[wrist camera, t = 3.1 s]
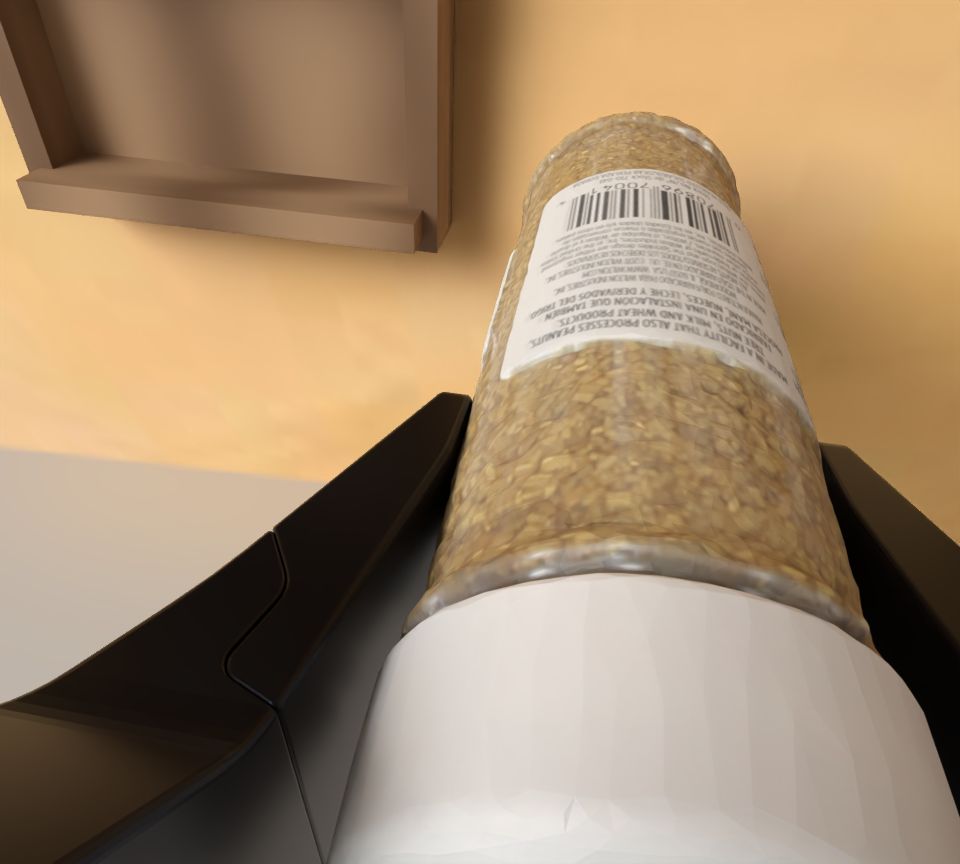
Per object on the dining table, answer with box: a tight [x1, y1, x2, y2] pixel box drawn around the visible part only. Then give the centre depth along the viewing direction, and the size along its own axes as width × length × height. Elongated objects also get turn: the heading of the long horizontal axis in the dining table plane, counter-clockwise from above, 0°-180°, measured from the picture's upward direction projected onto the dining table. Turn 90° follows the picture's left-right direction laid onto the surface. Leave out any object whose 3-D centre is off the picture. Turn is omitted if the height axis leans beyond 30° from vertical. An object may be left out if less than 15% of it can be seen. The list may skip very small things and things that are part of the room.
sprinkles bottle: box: [326, 112, 960, 864], centre depth 10 cm, size 5×5×13 cm
